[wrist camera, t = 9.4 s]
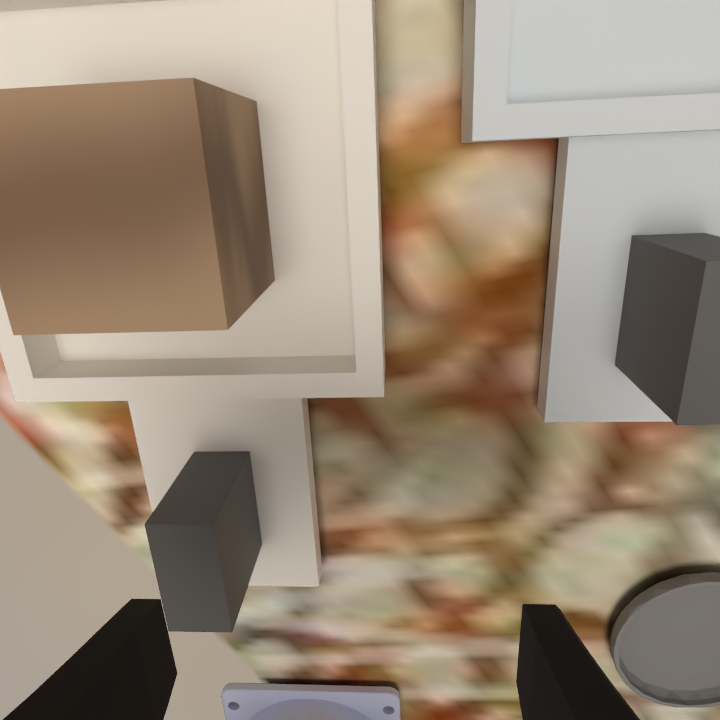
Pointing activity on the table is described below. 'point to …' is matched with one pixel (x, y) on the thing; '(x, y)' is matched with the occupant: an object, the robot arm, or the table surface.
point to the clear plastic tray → (615, 193)
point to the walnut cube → (131, 207)
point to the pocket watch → (672, 641)
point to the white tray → (265, 316)
